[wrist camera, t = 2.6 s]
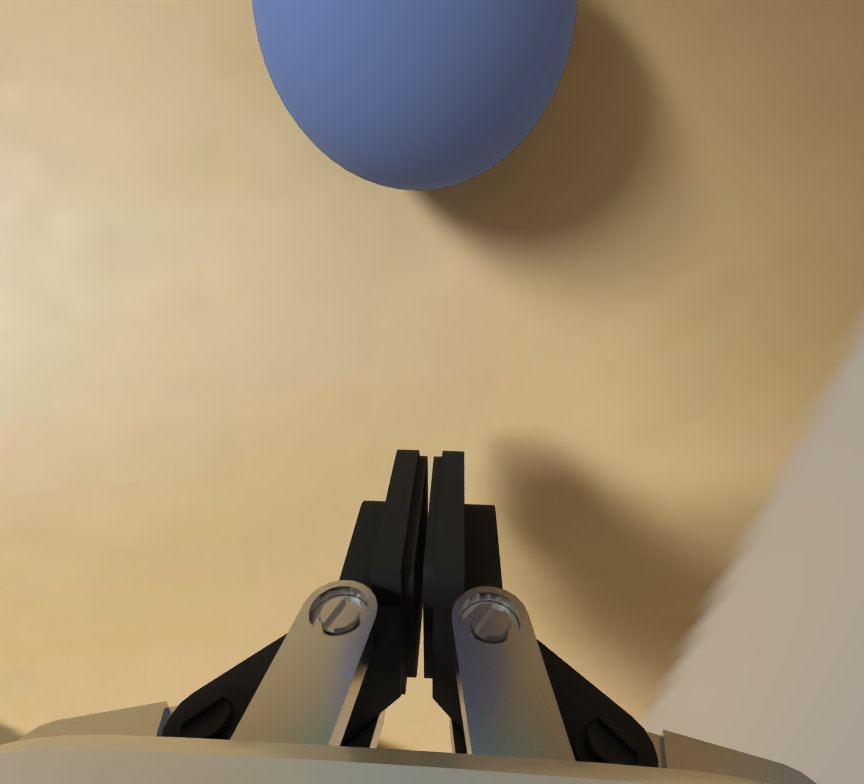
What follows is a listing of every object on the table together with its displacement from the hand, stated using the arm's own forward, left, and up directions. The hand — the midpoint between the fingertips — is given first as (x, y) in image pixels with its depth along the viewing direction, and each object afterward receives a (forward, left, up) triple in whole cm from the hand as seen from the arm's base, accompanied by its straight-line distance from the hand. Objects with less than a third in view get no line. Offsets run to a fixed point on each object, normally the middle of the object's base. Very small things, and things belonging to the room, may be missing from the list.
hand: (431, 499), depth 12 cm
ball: (-9, +5, -1) cm, 10 cm away
